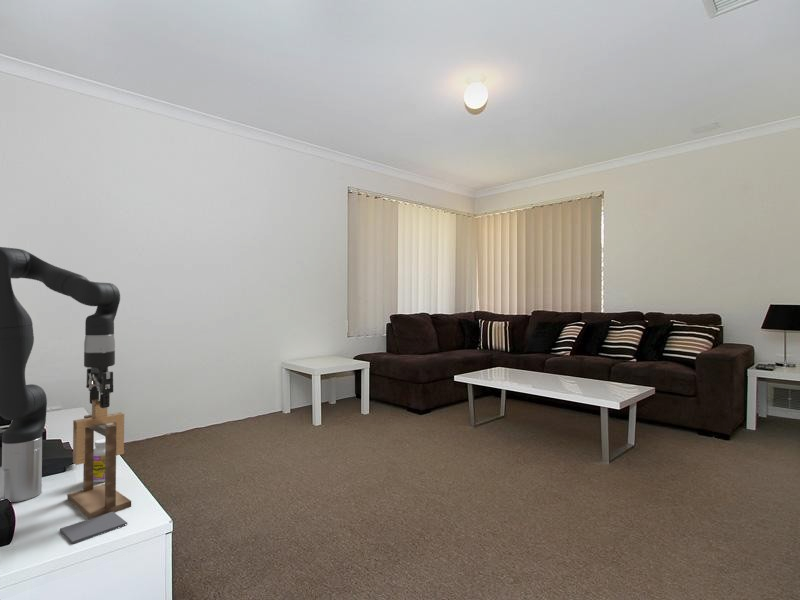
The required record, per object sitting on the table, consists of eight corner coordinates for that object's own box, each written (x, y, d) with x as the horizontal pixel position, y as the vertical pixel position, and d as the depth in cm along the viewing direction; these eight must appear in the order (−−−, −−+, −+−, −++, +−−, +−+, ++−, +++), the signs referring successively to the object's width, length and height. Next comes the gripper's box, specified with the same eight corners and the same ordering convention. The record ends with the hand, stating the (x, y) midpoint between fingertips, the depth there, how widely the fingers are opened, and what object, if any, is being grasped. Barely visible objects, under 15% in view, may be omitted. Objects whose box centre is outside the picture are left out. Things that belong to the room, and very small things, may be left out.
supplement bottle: (87, 484, 143) (87, 444, 143) (94, 476, 149) (95, 438, 149) (110, 482, 145) (111, 442, 145) (117, 474, 151) (117, 436, 151)
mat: (72, 544, 107) (72, 541, 107) (59, 530, 113) (59, 528, 113) (127, 524, 116) (127, 522, 116) (112, 513, 123) (112, 511, 123)
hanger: (76, 465, 124) (76, 404, 124) (72, 462, 126) (73, 402, 126) (123, 453, 133) (124, 397, 134) (120, 451, 135) (120, 396, 135)
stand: (90, 519, 119) (91, 430, 120) (67, 499, 132) (68, 418, 132) (131, 506, 127) (131, 422, 127) (105, 488, 140) (106, 412, 140)
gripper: (76, 349, 131) (76, 404, 131) (93, 352, 123) (93, 411, 122) (105, 347, 137) (105, 400, 137) (123, 350, 129) (123, 406, 128)
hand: (99, 405), depth 130 cm, fingers open, 8 cm apart
